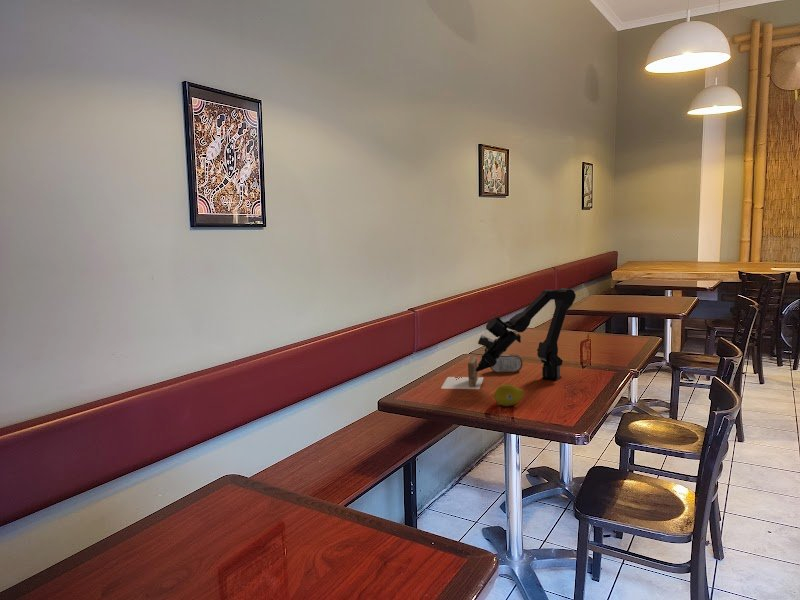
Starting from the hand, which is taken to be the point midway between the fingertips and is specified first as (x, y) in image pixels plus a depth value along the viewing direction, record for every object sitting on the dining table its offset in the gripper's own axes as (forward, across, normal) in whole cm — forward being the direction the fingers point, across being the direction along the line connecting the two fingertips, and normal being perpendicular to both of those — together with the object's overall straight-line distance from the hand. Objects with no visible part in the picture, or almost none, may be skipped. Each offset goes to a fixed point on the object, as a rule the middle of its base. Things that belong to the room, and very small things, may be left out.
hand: (477, 368), depth 244 cm
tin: (-2, -20, +12) cm, 23 cm away
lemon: (-5, +28, +15) cm, 33 cm away
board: (+6, 0, +3) cm, 7 cm away
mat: (+9, 0, 0) cm, 9 cm away
